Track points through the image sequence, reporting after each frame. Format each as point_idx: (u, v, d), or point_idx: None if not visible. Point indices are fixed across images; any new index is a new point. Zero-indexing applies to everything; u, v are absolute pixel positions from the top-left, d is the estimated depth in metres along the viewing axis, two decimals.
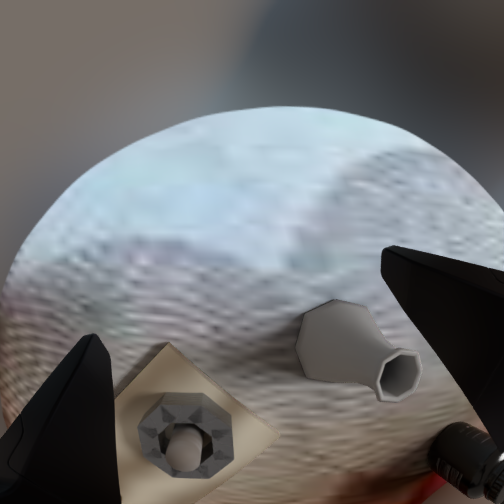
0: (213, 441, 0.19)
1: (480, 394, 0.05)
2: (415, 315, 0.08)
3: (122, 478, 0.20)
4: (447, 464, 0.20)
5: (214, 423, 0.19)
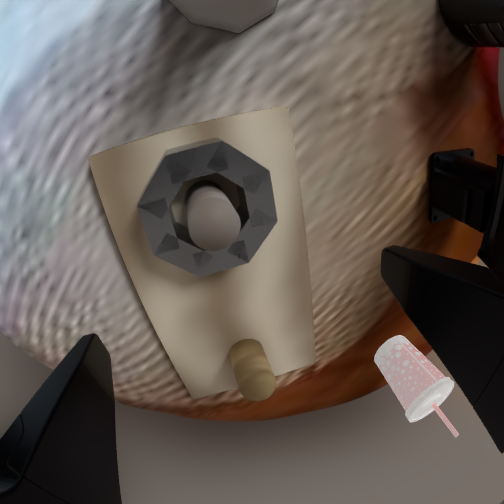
0: (225, 175, 0.15)
1: (480, 394, 0.05)
2: (415, 315, 0.08)
3: (230, 322, 0.22)
4: (479, 24, 0.13)
5: (200, 156, 0.14)
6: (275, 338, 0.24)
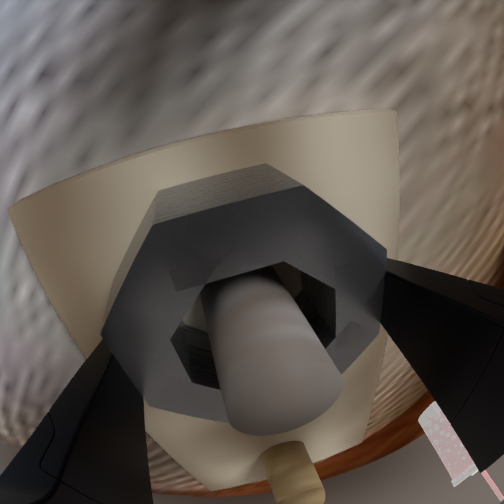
0: (301, 266, 0.06)
1: (457, 412, 0.05)
2: (390, 327, 0.08)
3: None
4: None
5: (246, 225, 0.06)
6: (322, 434, 0.16)
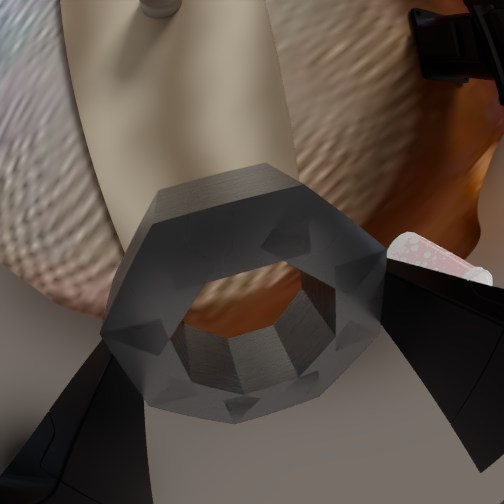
0: (301, 266, 0.06)
1: (457, 412, 0.05)
2: (390, 327, 0.08)
3: (185, 149, 0.16)
4: None
5: (245, 225, 0.06)
6: None
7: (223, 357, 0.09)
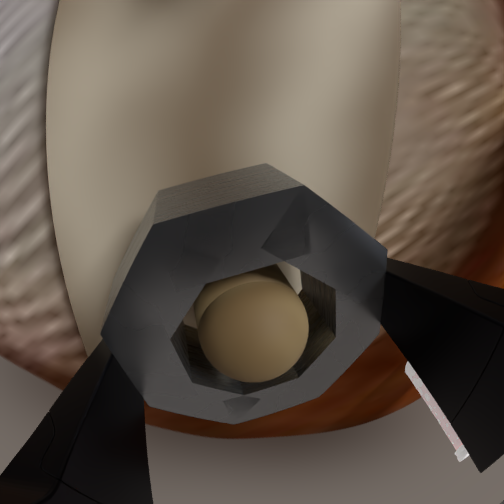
0: (302, 266, 0.06)
1: (457, 412, 0.05)
2: (390, 327, 0.08)
3: (218, 163, 0.09)
4: None
5: (245, 225, 0.06)
6: None
7: None
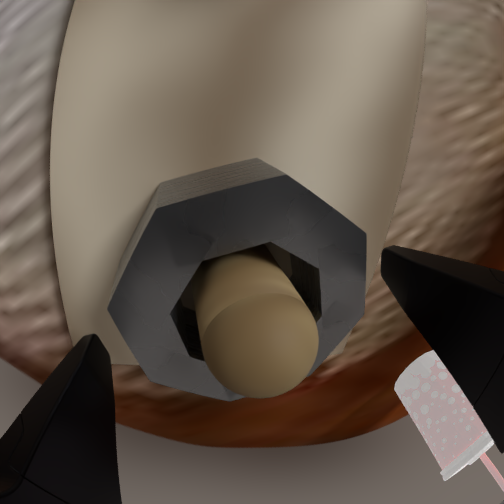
0: (287, 247, 0.07)
1: (480, 394, 0.05)
2: (415, 315, 0.08)
3: None
4: None
5: (236, 210, 0.07)
6: None
7: None
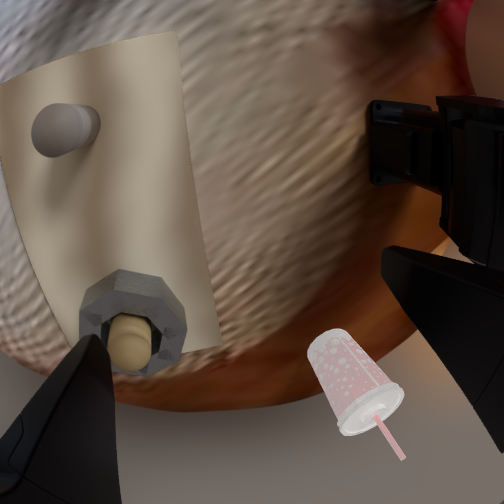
0: (128, 312, 0.17)
1: (480, 394, 0.05)
2: (415, 315, 0.08)
3: None
4: None
5: (103, 305, 0.16)
6: None
7: None
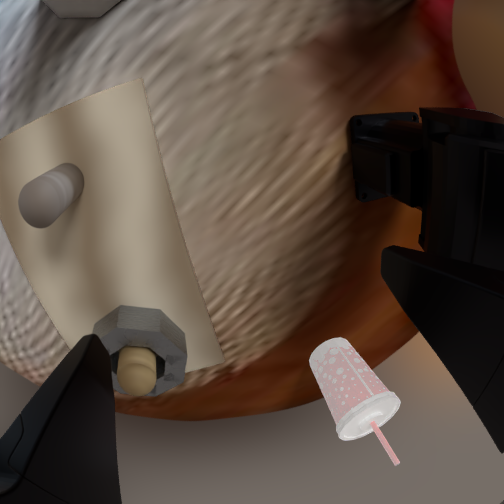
0: (132, 345, 0.18)
1: (480, 394, 0.05)
2: (415, 315, 0.08)
3: None
4: None
5: (109, 340, 0.18)
6: None
7: None
